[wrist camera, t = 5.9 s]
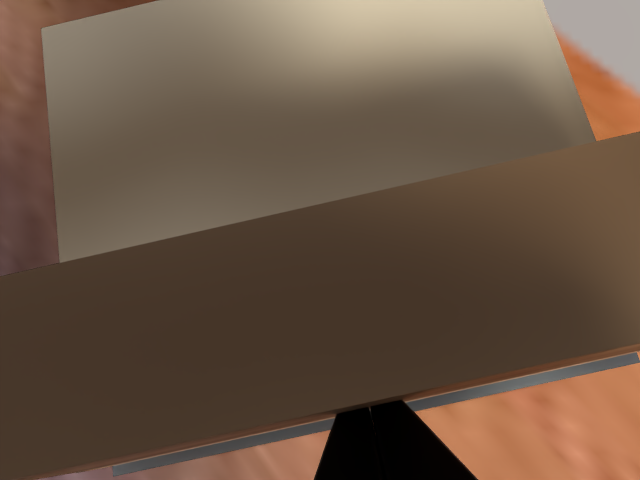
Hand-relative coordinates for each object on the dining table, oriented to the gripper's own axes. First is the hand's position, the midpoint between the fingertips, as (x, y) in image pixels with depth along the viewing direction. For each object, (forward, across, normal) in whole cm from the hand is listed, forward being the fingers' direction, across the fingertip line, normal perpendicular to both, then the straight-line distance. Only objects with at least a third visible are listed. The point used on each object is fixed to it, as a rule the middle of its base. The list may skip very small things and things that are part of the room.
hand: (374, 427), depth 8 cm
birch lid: (+4, 0, -2) cm, 5 cm away
